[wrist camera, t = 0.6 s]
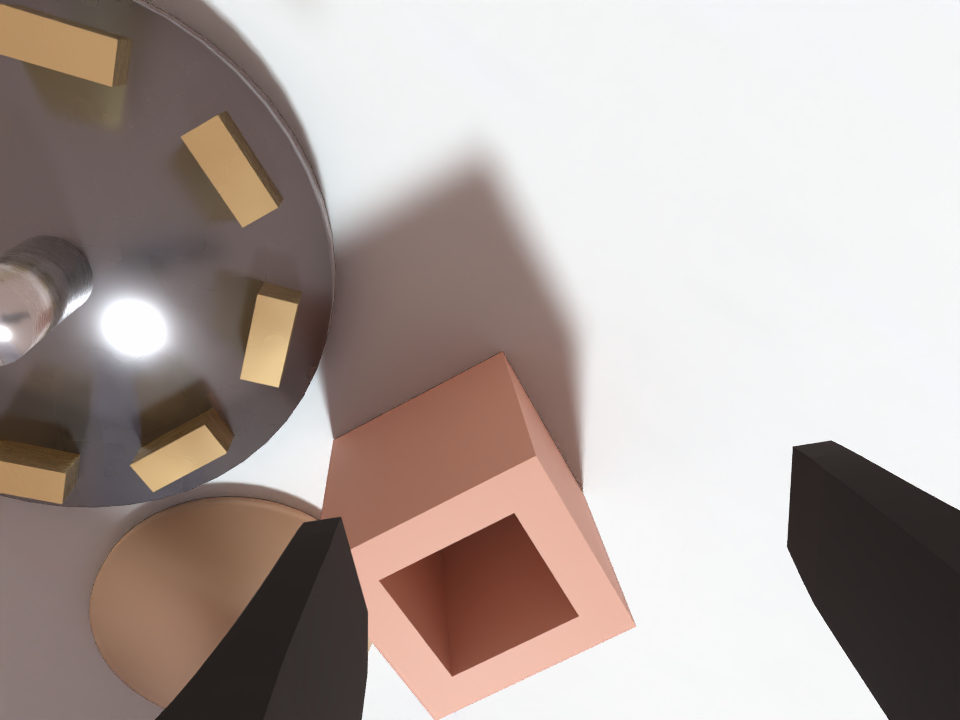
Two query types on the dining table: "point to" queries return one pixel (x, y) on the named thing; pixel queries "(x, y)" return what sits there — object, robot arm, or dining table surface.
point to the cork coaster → (184, 587)
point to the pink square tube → (471, 540)
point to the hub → (146, 257)
